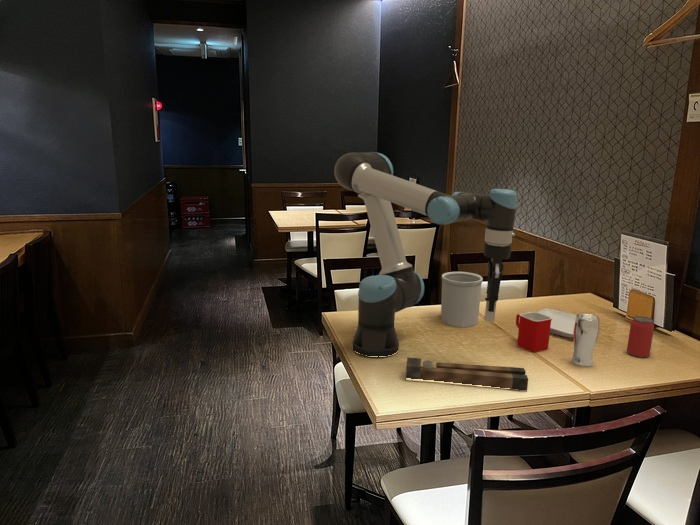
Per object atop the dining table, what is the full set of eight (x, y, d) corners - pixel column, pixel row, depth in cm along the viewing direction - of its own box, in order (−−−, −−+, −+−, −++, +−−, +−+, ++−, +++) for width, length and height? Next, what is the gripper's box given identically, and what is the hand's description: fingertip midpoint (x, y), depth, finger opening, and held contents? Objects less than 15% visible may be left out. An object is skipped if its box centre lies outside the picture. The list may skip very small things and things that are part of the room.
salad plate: (517, 326, 191) (517, 317, 190) (545, 314, 204) (546, 306, 204) (572, 343, 175) (574, 334, 174) (599, 329, 189) (601, 320, 188)
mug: (551, 348, 169) (554, 318, 167) (533, 353, 166) (536, 322, 163) (523, 336, 180) (526, 307, 177) (506, 340, 176) (508, 310, 174)
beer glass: (587, 358, 162) (593, 313, 159) (598, 367, 156) (604, 320, 152) (565, 358, 162) (571, 313, 159) (575, 367, 155) (581, 320, 152)
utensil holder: (471, 330, 184) (475, 283, 180) (433, 322, 192) (435, 277, 188) (484, 319, 197) (488, 275, 193) (447, 312, 204) (450, 269, 200)
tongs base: (405, 380, 145) (406, 365, 144) (406, 371, 151) (407, 356, 150) (527, 391, 140) (528, 375, 139) (523, 381, 146) (525, 366, 145)
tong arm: (436, 377, 147) (436, 365, 146) (435, 373, 149) (436, 362, 149) (524, 383, 144) (525, 371, 143) (522, 379, 147) (523, 367, 146)
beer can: (637, 359, 162) (643, 323, 160) (621, 351, 169) (626, 316, 166) (654, 357, 164) (660, 321, 161) (638, 349, 170) (643, 314, 168)
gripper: (514, 249, 141) (504, 329, 147) (508, 240, 154) (499, 314, 160) (486, 247, 142) (477, 326, 148) (482, 238, 155) (475, 312, 161)
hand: (489, 320), depth 154 cm, fingers closed
